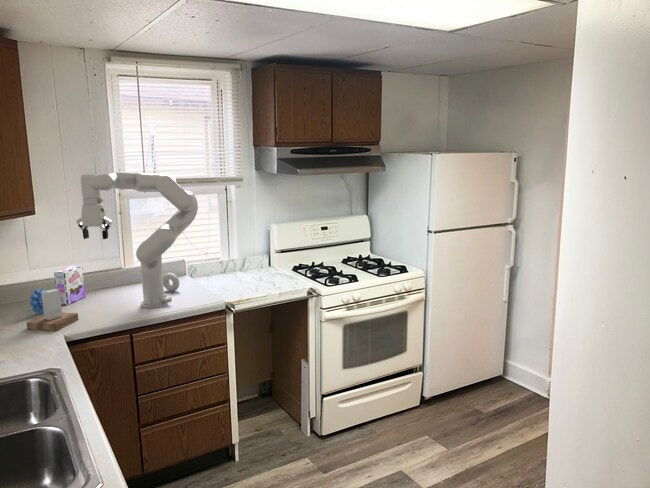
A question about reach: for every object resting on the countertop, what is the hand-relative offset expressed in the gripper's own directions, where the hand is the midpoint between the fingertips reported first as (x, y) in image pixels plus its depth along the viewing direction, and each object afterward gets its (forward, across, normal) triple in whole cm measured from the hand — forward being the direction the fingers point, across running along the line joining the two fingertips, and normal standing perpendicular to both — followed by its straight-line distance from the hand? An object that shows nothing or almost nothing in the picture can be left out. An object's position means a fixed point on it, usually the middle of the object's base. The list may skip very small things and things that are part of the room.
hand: (95, 238), depth 240 cm
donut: (+34, -20, -30) cm, 49 cm away
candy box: (+34, +22, -8) cm, 41 cm away
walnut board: (+33, +8, +24) cm, 42 cm away
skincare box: (+31, +8, +24) cm, 40 cm away
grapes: (+34, +22, +12) cm, 42 cm away
